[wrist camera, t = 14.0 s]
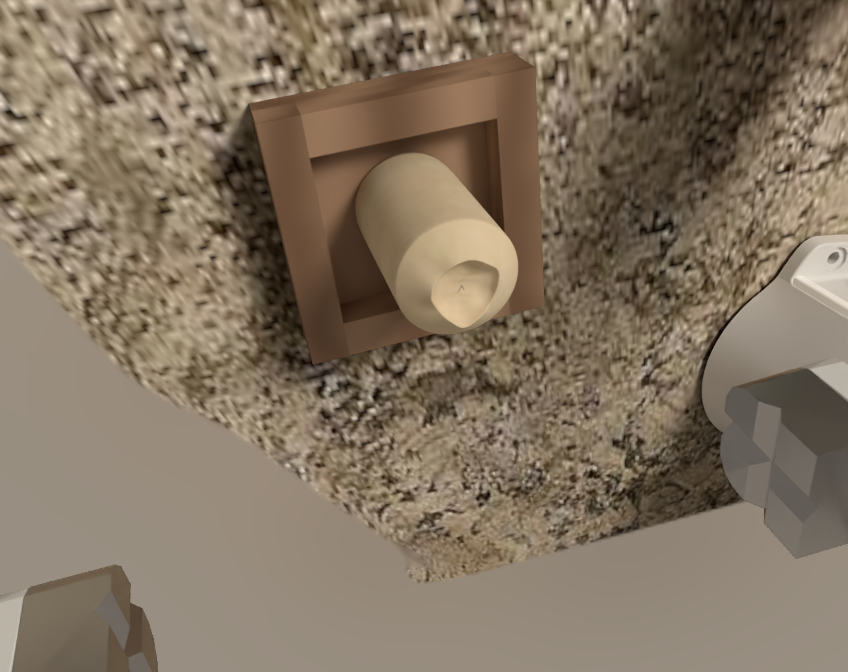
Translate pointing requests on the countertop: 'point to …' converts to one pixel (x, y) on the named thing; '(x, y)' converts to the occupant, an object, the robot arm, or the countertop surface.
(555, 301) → the countertop surface
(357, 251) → the brown shallow square tray
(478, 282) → the candle
